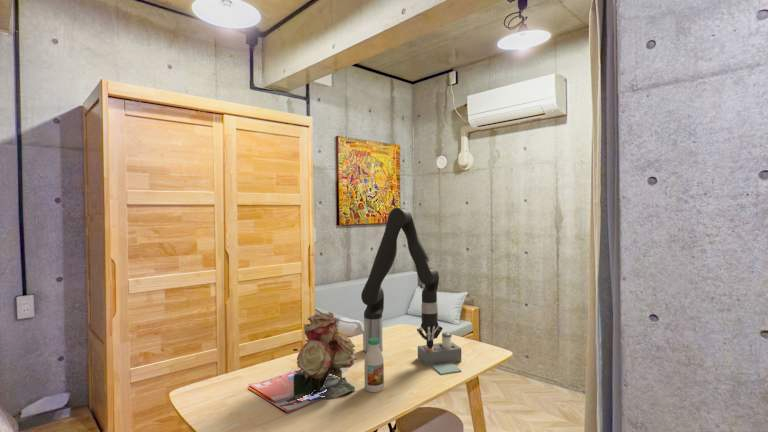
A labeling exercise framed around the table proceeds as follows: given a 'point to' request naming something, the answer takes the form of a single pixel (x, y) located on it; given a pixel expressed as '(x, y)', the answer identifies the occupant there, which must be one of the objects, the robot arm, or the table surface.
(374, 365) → the milk bottle
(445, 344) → the cartridge
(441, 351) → the housing
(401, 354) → the table surface
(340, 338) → the rose bouquet
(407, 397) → the table surface
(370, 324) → the robot arm
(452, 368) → the mat
